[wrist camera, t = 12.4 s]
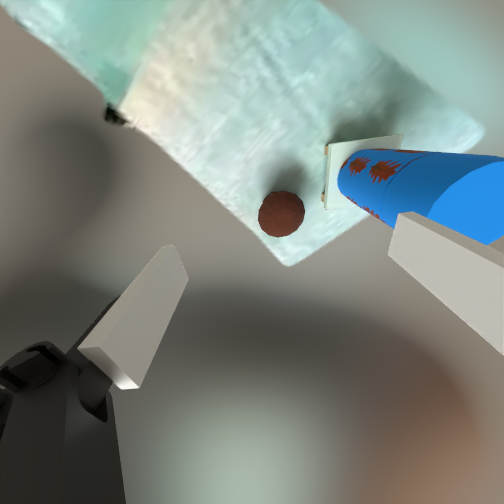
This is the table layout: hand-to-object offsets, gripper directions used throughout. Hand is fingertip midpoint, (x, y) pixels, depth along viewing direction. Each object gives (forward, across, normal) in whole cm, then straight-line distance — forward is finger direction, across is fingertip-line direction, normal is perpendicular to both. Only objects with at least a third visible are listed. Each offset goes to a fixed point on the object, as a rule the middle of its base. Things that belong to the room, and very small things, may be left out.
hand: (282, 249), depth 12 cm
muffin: (+41, +4, -11) cm, 42 cm away
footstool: (+40, +22, -5) cm, 46 cm away
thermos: (+35, +22, -5) cm, 41 cm away
